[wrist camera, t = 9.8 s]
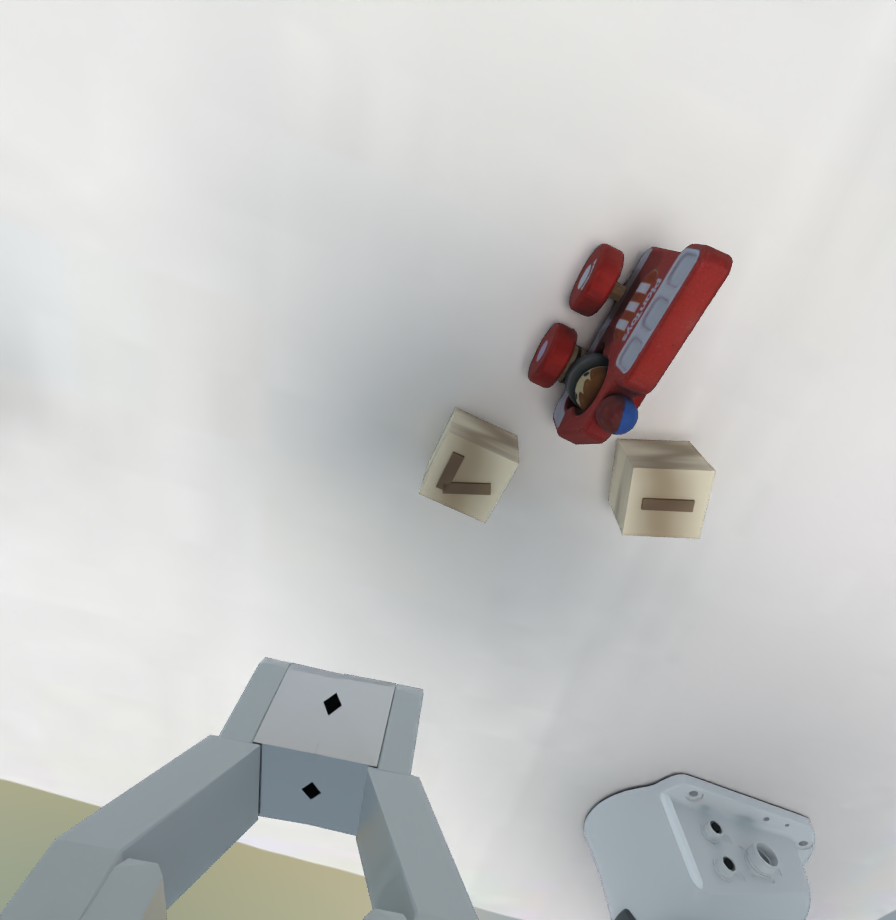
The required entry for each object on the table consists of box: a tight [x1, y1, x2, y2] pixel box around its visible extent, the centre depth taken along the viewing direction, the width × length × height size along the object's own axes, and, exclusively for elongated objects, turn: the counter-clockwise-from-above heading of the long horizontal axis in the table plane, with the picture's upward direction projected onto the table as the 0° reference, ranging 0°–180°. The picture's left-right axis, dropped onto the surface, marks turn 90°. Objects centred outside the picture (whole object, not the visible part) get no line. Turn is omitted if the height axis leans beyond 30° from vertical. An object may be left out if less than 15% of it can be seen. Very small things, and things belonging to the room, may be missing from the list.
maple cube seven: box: [419, 407, 519, 523], centre depth 36 cm, size 5×5×5 cm
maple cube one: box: [608, 439, 716, 539], centre depth 35 cm, size 5×5×5 cm
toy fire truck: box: [528, 244, 733, 444], centre depth 29 cm, size 7×12×10 cm, turn 155°
